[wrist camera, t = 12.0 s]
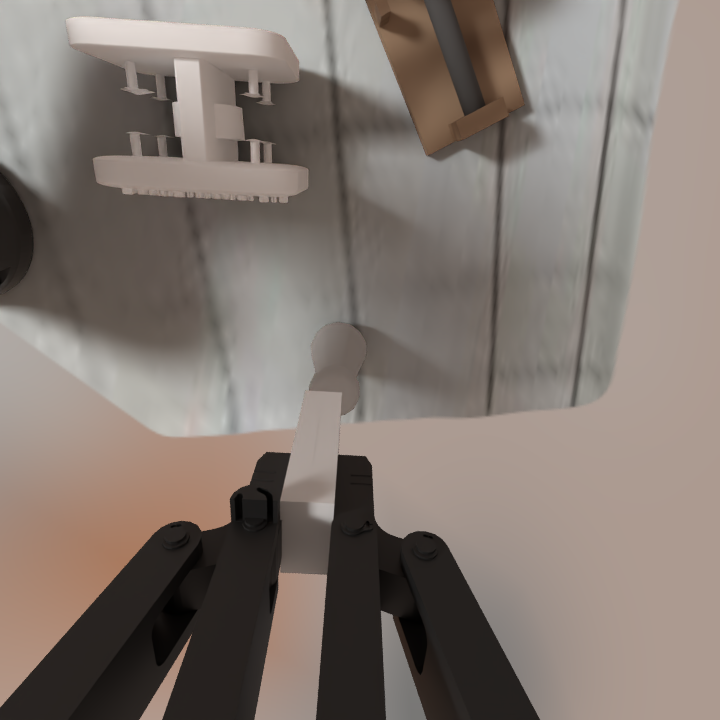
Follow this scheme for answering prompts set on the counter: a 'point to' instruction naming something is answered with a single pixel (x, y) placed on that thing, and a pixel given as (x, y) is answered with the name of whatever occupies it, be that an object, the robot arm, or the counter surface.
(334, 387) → the salt shaker
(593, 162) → the counter surface
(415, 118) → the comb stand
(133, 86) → the cable organizer
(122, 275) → the counter surface
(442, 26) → the dark grey rod
